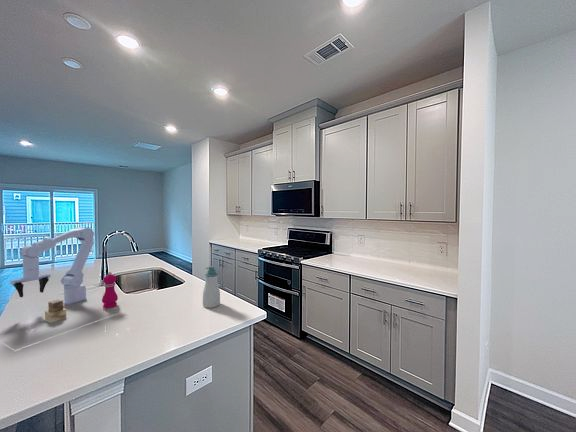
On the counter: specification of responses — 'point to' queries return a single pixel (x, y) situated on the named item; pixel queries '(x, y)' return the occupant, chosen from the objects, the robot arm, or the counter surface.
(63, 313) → the oak base
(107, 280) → the pepper mill
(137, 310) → the counter surface
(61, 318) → the slate mat
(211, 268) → the soap bottle
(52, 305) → the walnut block
